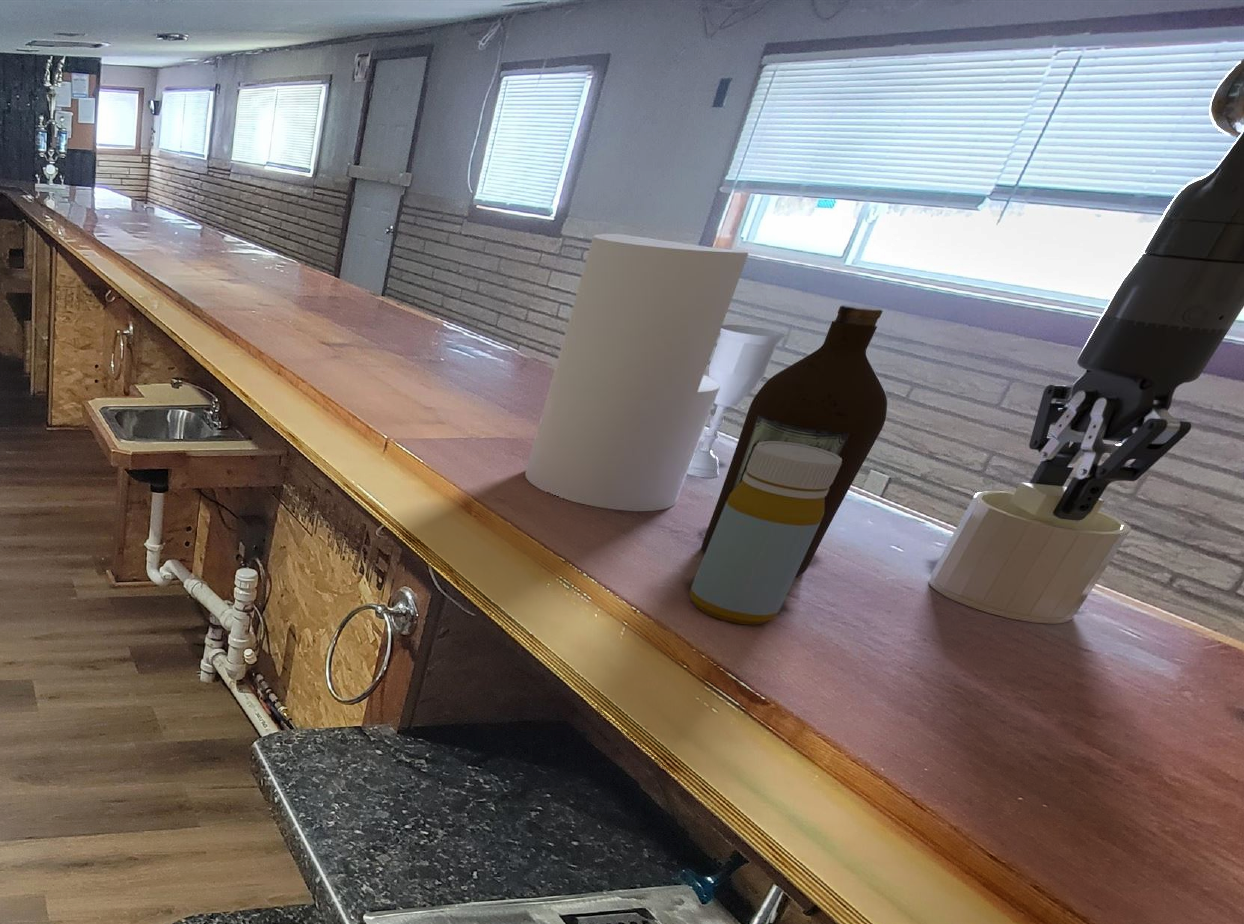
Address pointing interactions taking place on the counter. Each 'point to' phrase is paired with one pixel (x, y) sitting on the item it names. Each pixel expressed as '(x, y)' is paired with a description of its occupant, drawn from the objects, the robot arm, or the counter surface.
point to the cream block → (1044, 499)
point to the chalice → (733, 381)
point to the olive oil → (818, 411)
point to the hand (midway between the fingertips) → (1051, 509)
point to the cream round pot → (1025, 560)
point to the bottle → (764, 532)
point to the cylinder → (634, 373)
